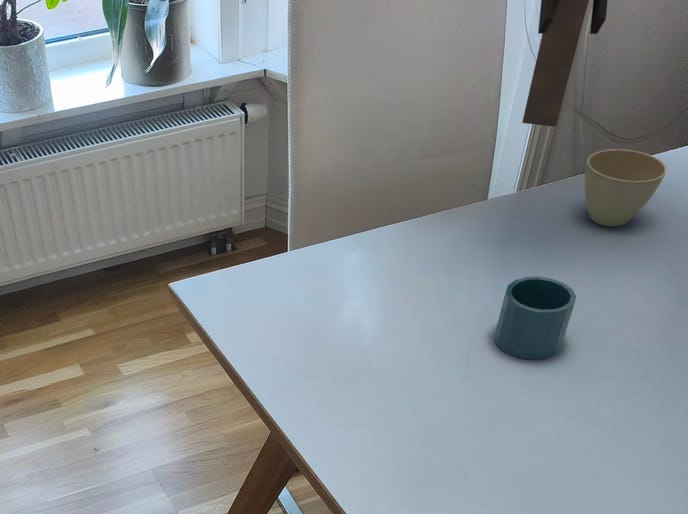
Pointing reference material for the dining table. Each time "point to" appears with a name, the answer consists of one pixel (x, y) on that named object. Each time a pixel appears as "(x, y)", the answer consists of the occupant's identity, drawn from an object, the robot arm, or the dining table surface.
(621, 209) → the flower pot
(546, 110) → the dark brown long bar
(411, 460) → the dining table surface
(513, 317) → the holder
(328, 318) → the dining table surface
